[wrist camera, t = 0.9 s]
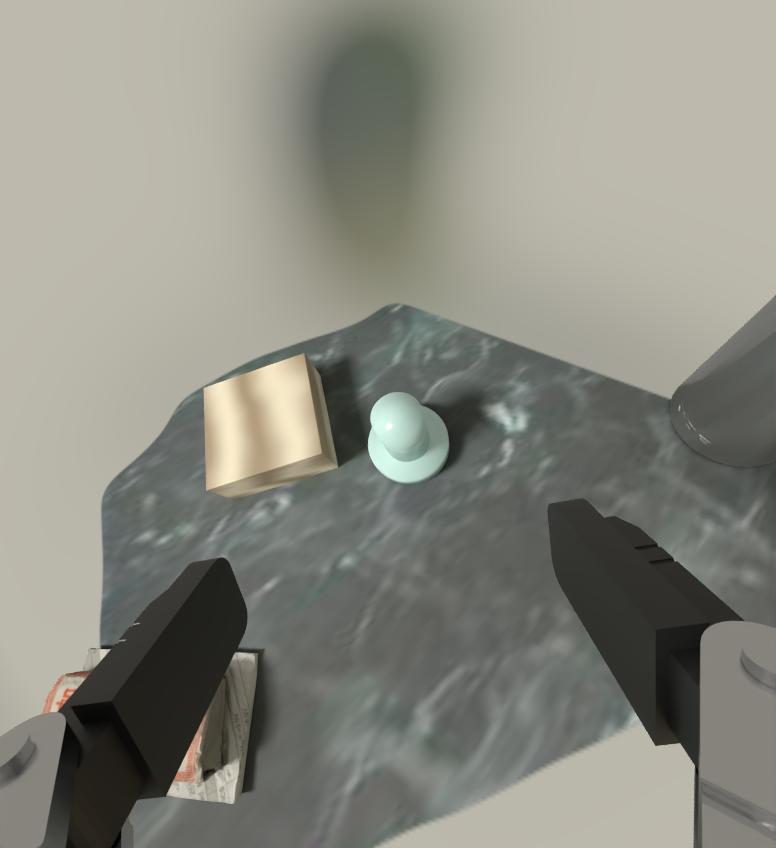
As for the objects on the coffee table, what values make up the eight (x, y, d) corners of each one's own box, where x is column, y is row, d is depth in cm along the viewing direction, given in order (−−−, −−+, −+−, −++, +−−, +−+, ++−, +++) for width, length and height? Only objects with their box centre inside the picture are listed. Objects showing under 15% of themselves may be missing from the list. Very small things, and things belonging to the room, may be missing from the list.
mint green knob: (436, 403, 39) (429, 362, 32) (459, 472, 36) (456, 444, 28) (366, 424, 40) (342, 389, 33) (381, 494, 36) (359, 473, 29)
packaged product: (2, 804, 28) (49, 654, 32) (65, 775, 33) (99, 646, 37) (207, 831, 25) (231, 660, 29) (246, 794, 29) (263, 650, 33)
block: (321, 376, 44) (304, 353, 39) (339, 468, 39) (321, 453, 34) (230, 407, 45) (203, 388, 40) (236, 500, 40) (206, 490, 35)
